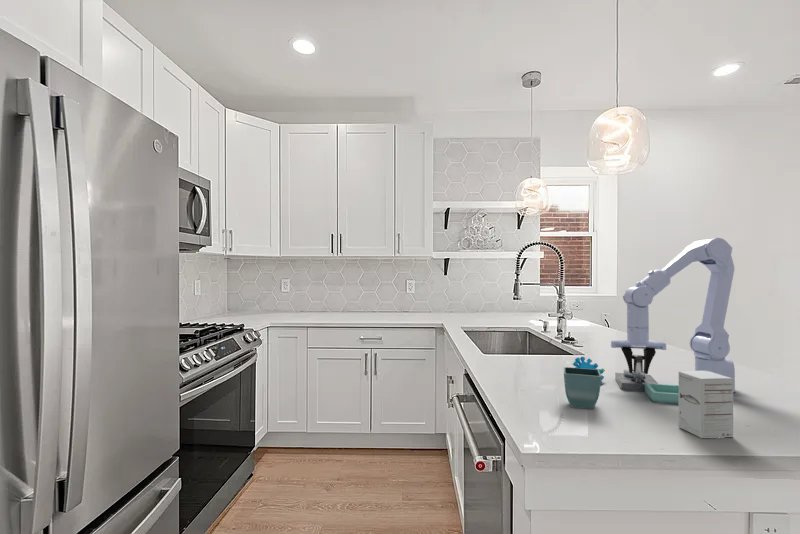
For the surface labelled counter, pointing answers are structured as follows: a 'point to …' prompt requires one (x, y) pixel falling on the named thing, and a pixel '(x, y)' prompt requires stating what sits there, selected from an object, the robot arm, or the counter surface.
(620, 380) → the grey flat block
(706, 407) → the supplement box
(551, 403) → the counter surface
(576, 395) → the flower pot
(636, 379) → the pin
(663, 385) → the tray
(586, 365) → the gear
